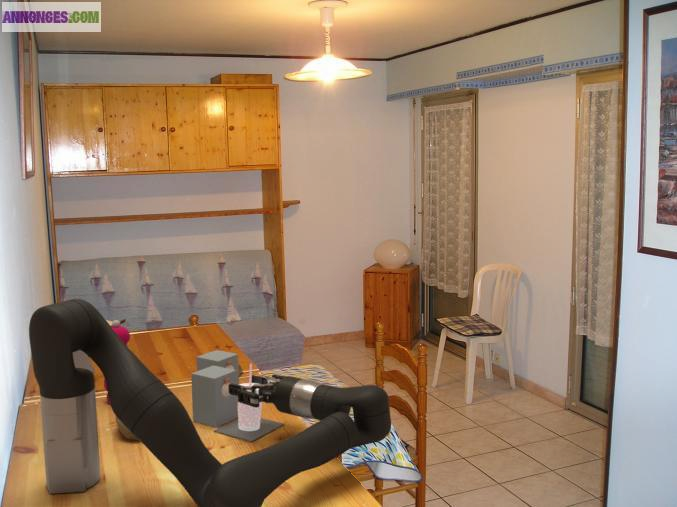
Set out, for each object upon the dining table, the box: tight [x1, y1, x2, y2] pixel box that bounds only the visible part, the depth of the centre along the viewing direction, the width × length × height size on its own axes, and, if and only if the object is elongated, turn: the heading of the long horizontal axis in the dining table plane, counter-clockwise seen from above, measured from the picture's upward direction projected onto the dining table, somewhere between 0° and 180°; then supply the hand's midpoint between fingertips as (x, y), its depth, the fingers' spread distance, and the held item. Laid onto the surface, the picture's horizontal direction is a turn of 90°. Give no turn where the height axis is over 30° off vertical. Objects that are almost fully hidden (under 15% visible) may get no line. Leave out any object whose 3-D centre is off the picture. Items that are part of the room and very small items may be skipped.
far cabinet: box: [196, 349, 240, 400], centre depth 168 cm, size 8×7×11 cm
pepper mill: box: [103, 319, 131, 405], centre depth 168 cm, size 7×7×20 cm
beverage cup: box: [237, 363, 263, 431], centre depth 149 cm, size 6×6×14 cm
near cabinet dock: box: [190, 365, 285, 443], centre depth 152 cm, size 19×11×11 cm, turn 56°
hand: (240, 384), depth 151 cm, fingers closed on beverage cup, 6 cm apart
